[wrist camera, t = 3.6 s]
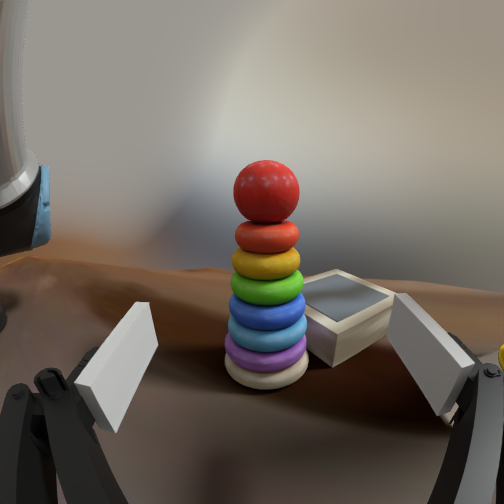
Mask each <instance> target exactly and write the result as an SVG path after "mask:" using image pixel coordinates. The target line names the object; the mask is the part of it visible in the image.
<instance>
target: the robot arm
mask: <svg viewBox="0 0 504 504" xmlns="http://www.w3.org/2000/svg"><path fill="white" fill-rule="evenodd" d="M30 1H31V0H0V257H3V256H7V255H11V254H15V253H20V252H24V251H30V250H32V249H33V248H36V247H39V246H42V245H45V244H46V243H48V242H49V240H50V237H51V222H50V190H49V189H50V183H49V181H50V169H49V167H48V166H43V165H41V166H39V163H38V160H37V156H36V155H35V154H34V153H33V152H32V151H31V150H29V149H27V148H26V146H25V138H24V127H23V115H22V59H23V47H24V37H25V29H26V22H27V16H28V11H29V6H30ZM6 322H7V315H6V312H5V309H4V307H3V304H2V303H1V301H0V332H1V330H2V329H3V328H4V326H5V324H6ZM386 337H387V339H388V340H389V342H390V343H391V345H392V346H393V348H394V349H395V351H396V352H397V353H398V355H399V356H400V358H401V359H402V361H403V362H404V364H405V366H406V367H407V369H408V370H409V372H410V373H411V375H412V376H413V378H414V379H415V381H416V383H417V384H418V386H419V387H420V389H421V390H422V392H423V394H424V395H425V397H426V399H427V400H428V402H429V403H430V405H431V407H432V408H433V410H434V412H435V413H436V415H437V416H439V415H442V414H445V413H447V412H450V411H451V409H452V407H453V406H454V404H455V402H456V403H457V404H458V406H459V407H458V409H457V411H456V412H455V414H454V416H453V417H452V419H451V421H450V423H449V424H451V423H452V422H453V420H454V424H453V428H452V432H451V436H450V440H449V444H448V447H447V451H446V454H445V457H444V461H443V464H442V467H441V470H440V473H439V475H438V478H437V481H436V483H435V486H434V489H433V491H432V494H431V496H430V498H429V501H428V503H427V504H491V500H492V496H493V492H494V487H495V483H496V504H504V371H501V369H500V368H499V367H498V366H496V365H494V364H491V363H485V364H482V363H481V362H480V361H479V360H478V358H477V357H476V356H475V355H474V354H473V353H472V352H471V351H470V350H469V349H467V347H466V346H465V345H464V344H463V343H462V342H461V341H460V340H459V339H458V338H457V337H456V336H455V335H453V334H451V333H449V332H447V333H446V332H445V331H444V330H443V329H442V328H441V327H440V326H439V325H438V324H437V322H436V321H435V320H433V319H432V318H431V317H430V316H429V315H428V314H427V313H426V312H425V311H424V310H423V309H422V308H421V307H420V306H419V305H418V304H417V303H416V302H415V301H414V300H413V299H412V298H411V297H410V296H409V295H408V294H407V293H401V294H395V295H394V300H393V305H392V311H391V315H390V320H389V325H388V329H387V334H386ZM157 346H158V342H157V338H156V334H155V330H154V325H153V321H152V316H151V312H150V307H149V302H135V304H134V305H133V306H132V307H131V309H130V310H129V311H128V312H127V314H126V315H125V316H124V317H123V319H122V320H121V321H120V322H119V324H118V325H117V326H116V327H115V329H114V330H113V331H112V332H111V334H110V335H109V336H108V338H107V339H106V340H105V342H104V343H103V344H102V345H101V347H94V348H93V349H91V350H90V351H89V352H87V353H86V354H85V356H84V357H83V358H82V361H80V362H79V363H78V366H76V367H75V369H74V370H73V371H72V373H71V374H70V375H69V377H68V378H67V379H66V381H65V379H64V377H63V375H62V373H61V371H60V370H58V369H57V368H46V369H44V370H41V371H40V372H39V373H37V375H36V376H35V378H34V384H35V385H36V387H37V389H38V391H39V392H40V393H32V392H31V390H30V389H29V387H28V386H27V385H26V384H22V383H20V384H16V385H13V386H12V387H11V388H10V389H9V390H8V392H7V394H6V397H5V401H4V404H3V407H2V411H1V415H0V504H58V498H57V482H56V471H57V474H58V478H59V481H60V484H61V487H62V490H63V493H64V496H65V499H66V502H67V504H128V502H127V500H126V498H125V497H124V495H123V493H122V491H121V489H120V487H119V485H118V483H117V481H116V479H115V477H114V475H113V473H112V471H111V469H110V467H109V465H108V462H107V460H106V458H105V456H104V453H103V451H102V449H101V446H100V444H99V441H98V439H97V436H96V433H95V431H94V430H93V428H92V426H93V424H94V422H95V421H96V423H97V424H98V426H99V428H100V429H101V430H105V431H108V432H112V433H116V432H117V430H118V428H119V426H120V423H121V421H122V419H123V417H124V415H125V412H126V410H127V408H128V406H129V404H130V402H131V400H132V397H133V395H134V393H135V391H136V389H137V387H138V385H139V383H140V381H141V379H142V377H143V375H144V372H145V370H146V368H147V366H148V364H149V362H150V360H151V358H152V356H153V354H154V352H155V350H156V348H157Z"/></svg>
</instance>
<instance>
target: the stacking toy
mask: <svg viewBox="0 0 504 504" xmlns="http://www.w3.org/2000/svg"><path fill="white" fill-rule="evenodd" d="M234 200H235V203H236V206H237V207H238V209H239V211H240V213H241V214H242V215H243V216H244V217H245V218H247V219H248V220H251V221H246V222H244V223H242V224H240V225H239V226H238V228H237V229H236V231H235V239H236V242H237V244H238V245H239V246H240V248H238V249H237V250H236V251H235V252H234V254H233V256H232V266H233V268H234V269H235V271H236V272H235V273H234V274H233V276H232V279H231V287H232V290H233V292H234V293H233V295H232V296H231V298H230V302H229V308H230V312H231V314H232V315H231V316H230V318H229V321H228V330H229V332H228V334H227V336H226V339H225V349H226V355H225V366H226V369H227V371H228V373H229V374H230V376H231V377H232V378H233V379H234V380H236V381H237V382H239V383H240V384H242V385H245V386H247V387H251V388H255V389H277V388H281V387H285V386H287V385H290V384H292V383H293V382H295V381H296V380H298V379H299V378H300V377H301V376H302V375H303V374H304V372H305V371H306V369H307V366H308V362H309V356H308V352H307V350H306V336H305V332H306V329H307V320H306V317H305V315H304V311H305V307H306V303H305V299H304V297H303V295H302V294H301V291H302V288H303V284H304V282H303V277H302V275H301V273H300V272H299V271H298V270H297V269H298V267H299V265H300V256H299V254H298V252H297V251H296V250H295V249H294V248H292V247H293V246H294V245H295V244H296V243H297V241H298V237H299V232H298V229H297V227H296V226H295V225H294V224H293V223H292V222H289V221H285V219H287V218H288V217H289V216H290V215H291V214H292V213H293V211H294V210H295V208H296V206H297V203H298V200H299V185H298V181H297V179H296V177H295V175H294V174H293V172H292V171H291V170H290V169H289V168H287V167H286V166H285V165H283V164H281V163H279V162H275V161H270V160H263V161H257V162H254V163H252V164H249V165H248V166H246V167H245V168H244V169H243V170H242V171H241V172H240V173H239V175H238V176H237V178H236V181H235V184H234Z"/></svg>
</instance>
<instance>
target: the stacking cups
mask: <svg viewBox="0 0 504 504" xmlns="http://www.w3.org/2000/svg"><path fill="white" fill-rule="evenodd" d="M498 359H499V363H500V366H501V368H502V370H503V371H504V344H503V345H502V347H501V348H500V350H499V354H498Z"/></svg>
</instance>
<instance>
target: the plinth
mask: <svg viewBox="0 0 504 504" xmlns="http://www.w3.org/2000/svg"><path fill="white" fill-rule="evenodd" d="M303 282H304V284H303V288H302V291H301V294H302V295H303V297H304V299H305V303H306V307H305V311H304V315H305V317H306V320H307V329H306V332H305V336H306V349H308V350H309V351H311V352H312V353H313V354H315V355H316V356H317V357H319V358H320V359H321V360H323V361H324V362H325V363H327V364H328V365H329V366H331V367H332V368H333V367H334V366H336V365H338V364H340V363H341V362H343V361H345V360H347V359H348V358H350V357H352V356H353V355H355V354H357V353H358V352H360V351H362V350H363V349H365V348H366V347H368V346H370V345H371V344H373V343H374V342H376V341H377V340H379V339H380V338H382V337H383V336H385V335H386V334H387V329H388V325H389V320H390V315H391V311H392V305H393V300H394V295H395V294H397V293H395V292H392V291H390V290H387V289H385V288H383V287H380V286H378V285H375V284H373V283H370V282H368V281H365V280H363V279H360V278H358V277H355V276H353V275H350V274H347V273H345V272H343V271H340V270H338V269H335V270H331V271H328V272H325V273H322V274H318V275H315V276H312V277H308V278H305V279H303Z"/></svg>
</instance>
